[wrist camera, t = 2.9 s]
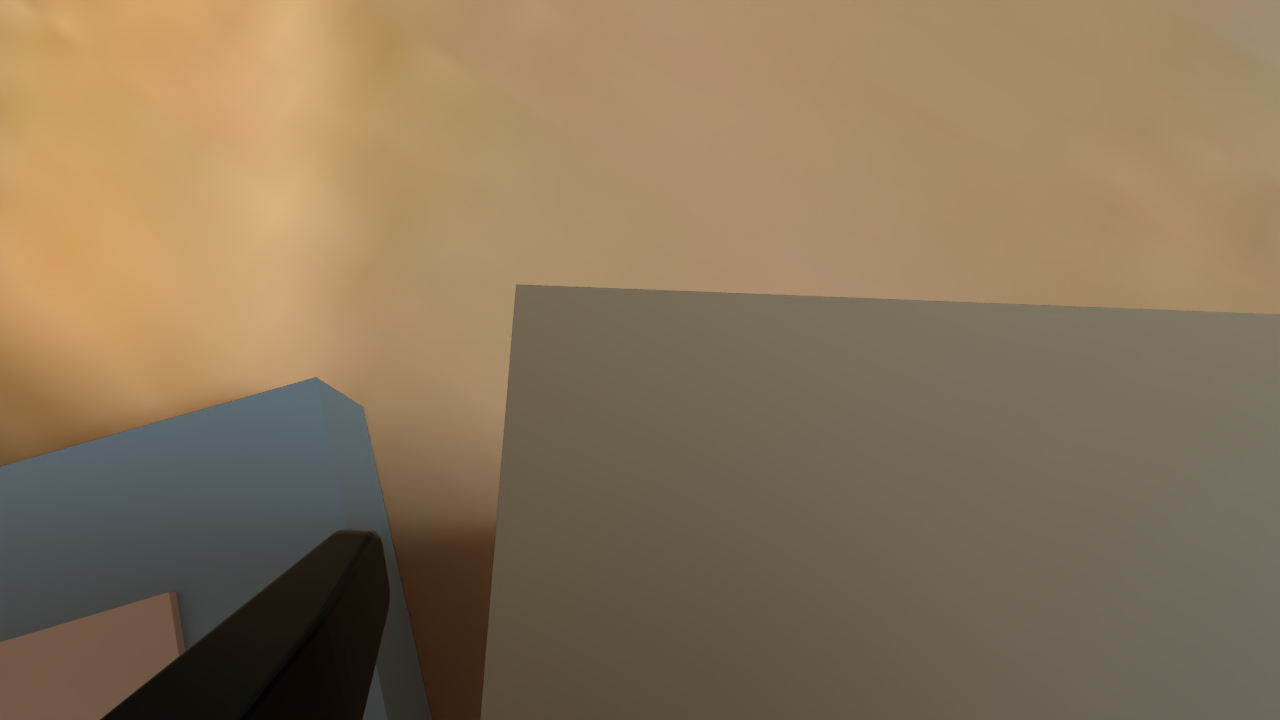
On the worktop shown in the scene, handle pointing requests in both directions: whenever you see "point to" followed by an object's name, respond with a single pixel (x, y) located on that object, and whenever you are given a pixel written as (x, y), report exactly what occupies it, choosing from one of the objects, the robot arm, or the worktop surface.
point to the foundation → (181, 546)
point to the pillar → (884, 511)
